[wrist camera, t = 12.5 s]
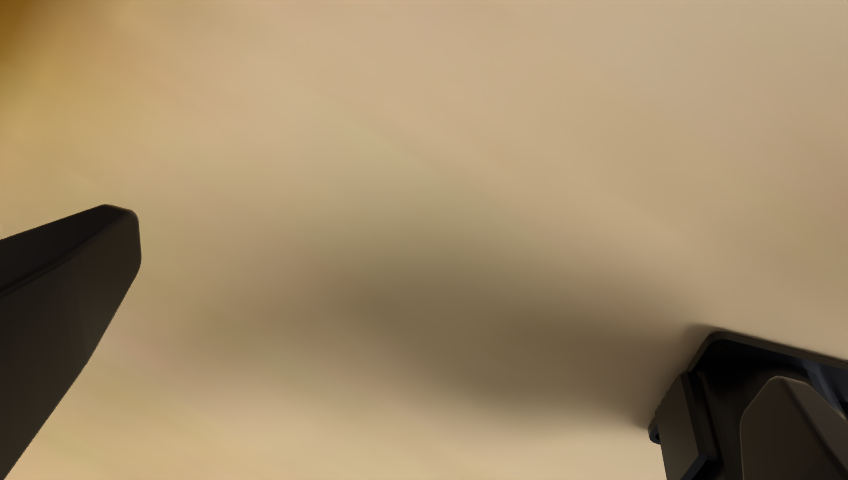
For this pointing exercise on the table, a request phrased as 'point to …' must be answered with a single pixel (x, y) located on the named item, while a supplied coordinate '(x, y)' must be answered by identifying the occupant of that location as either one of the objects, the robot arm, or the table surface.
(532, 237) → the table surface
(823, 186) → the table surface
